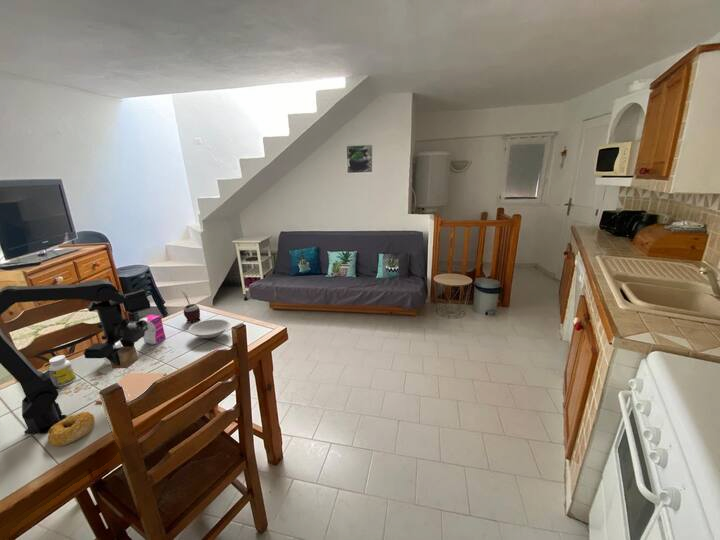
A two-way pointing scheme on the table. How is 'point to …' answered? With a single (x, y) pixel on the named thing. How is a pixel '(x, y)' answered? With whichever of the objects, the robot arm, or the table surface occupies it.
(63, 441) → the bagel
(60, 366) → the supplement bottle
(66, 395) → the table surface
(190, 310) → the mate gourd
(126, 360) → the walnut cube
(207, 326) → the dish
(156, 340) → the supplement box
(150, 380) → the tile mat
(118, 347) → the white cup
